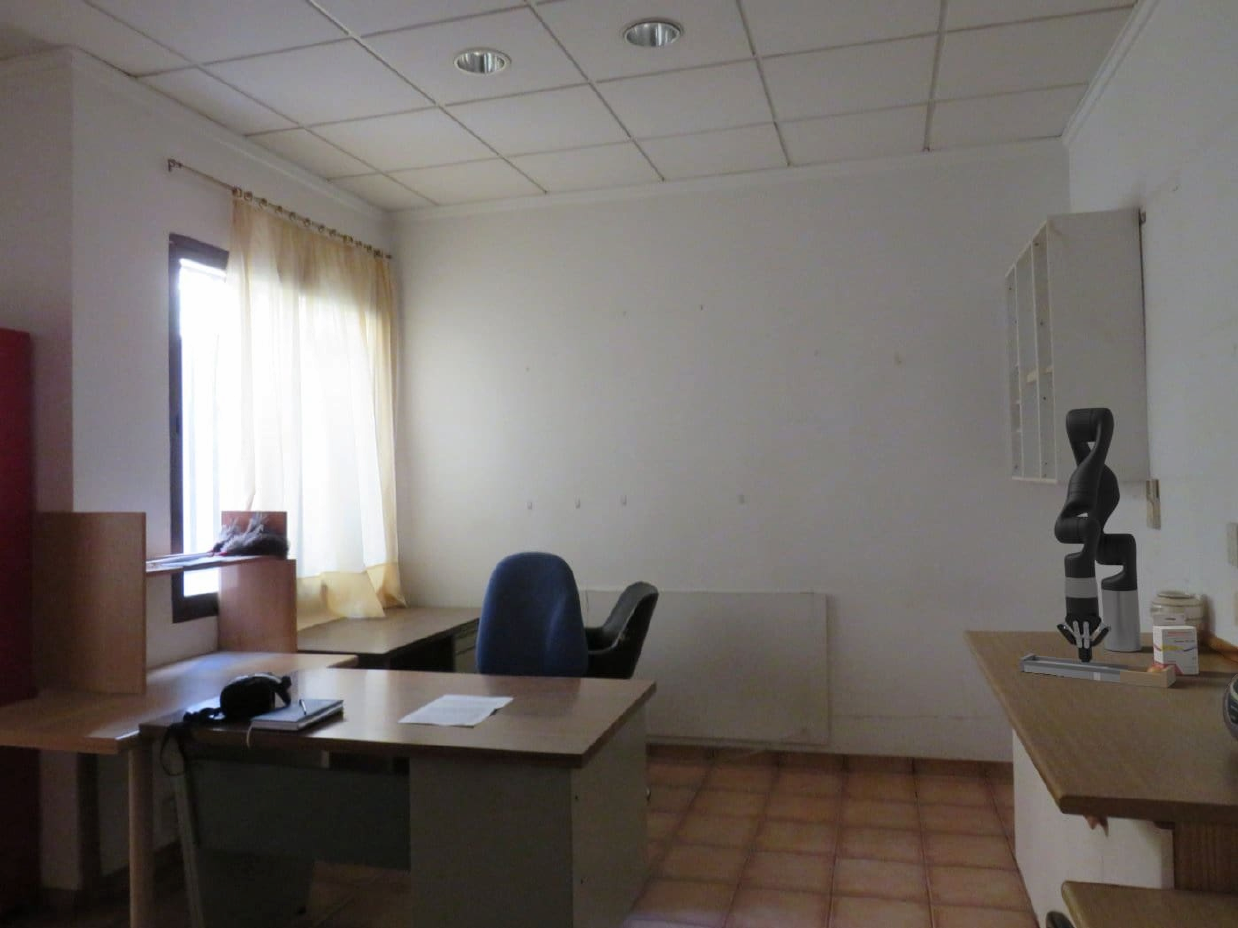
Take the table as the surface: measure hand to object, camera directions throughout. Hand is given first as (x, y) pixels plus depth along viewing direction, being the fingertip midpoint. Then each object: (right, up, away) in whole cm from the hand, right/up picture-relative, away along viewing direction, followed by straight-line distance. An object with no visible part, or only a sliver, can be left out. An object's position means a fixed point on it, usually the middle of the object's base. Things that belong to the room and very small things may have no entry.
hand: (1085, 661), depth 230 cm
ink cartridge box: (+22, -3, -2) cm, 22 cm away
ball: (+11, -1, -11) cm, 16 cm away
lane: (+2, -3, -2) cm, 5 cm away
